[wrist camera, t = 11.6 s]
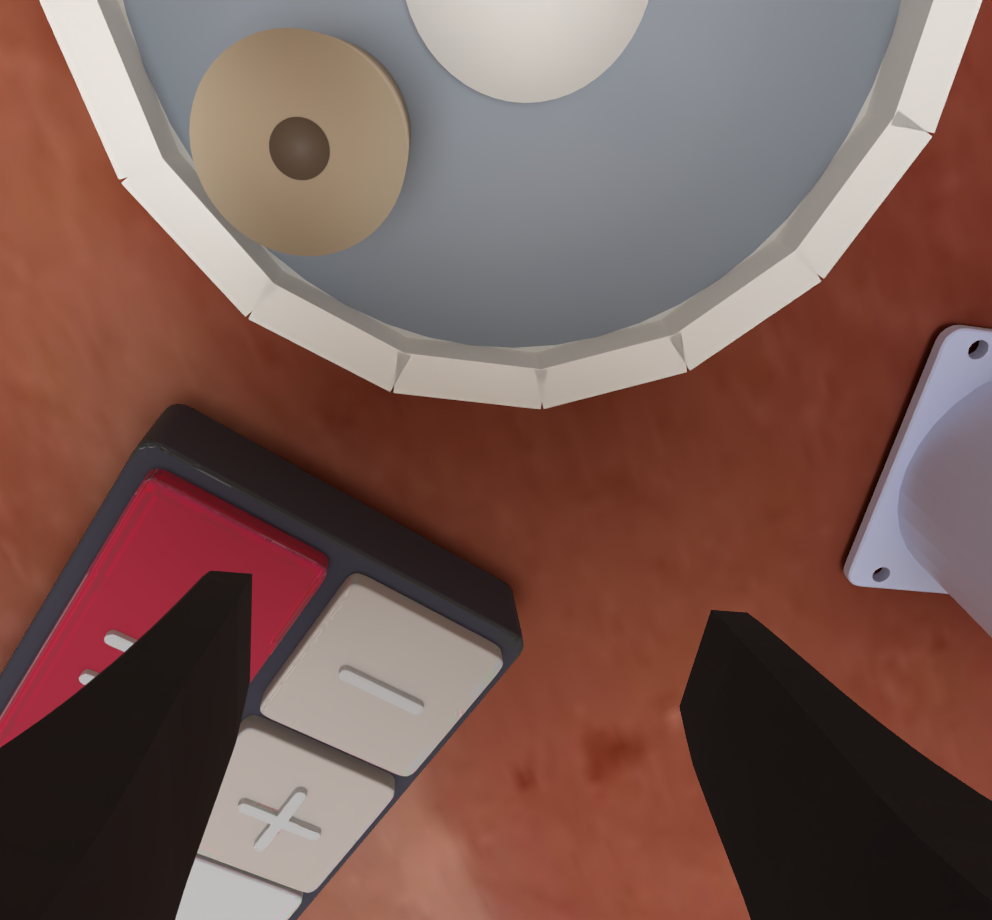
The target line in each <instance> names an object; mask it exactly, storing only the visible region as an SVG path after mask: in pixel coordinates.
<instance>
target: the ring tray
mask: <svg viewBox="0 0 992 920" xmlns="http://www.w3.org/2000/svg"><path fill="white" fill-rule="evenodd" d="M39 1H40V3H41V5H42V8H43V10H44V12H45V14H46V17H47V19H48V21H49V23H50V26H51V28H52V30H53V33H54V35H55V37H56V39H57V42H58V44H59V46H60V48H61V51H62V53H63V55H64V57H65V60H66V62H67V64H68V66H69V69H70V71H71V73H72V75H73V78H74V80H75V82H76V84H77V87H78V89H79V91H80V93H81V96H82V98H83V100H84V102H85V105H86V107H87V109H88V111H89V114H90V116H91V118H92V120H93V123H94V125H95V127H96V130H97V132H98V134H99V136H100V139H101V141H102V143H103V145H104V148H105V150H106V152H107V154H108V157H109V159H110V161H111V163H112V166H113V168H114V170H115V172H116V175H117V177H118V179H122V178H126V177H128V178H126V179H125V180H124V181H123V182H122V183H121V184H122V185H123V186H124V187H125V188H126V189H127V190H128V191H129V192H130V193H131V194H132V195H133V197H134V198H135V199H136V200H137V201H138V202H139V203H140V204H141V205H142V206H143V207H144V208H145V209H146V211H147V212H148V213H149V214H150V215H151V216H152V217H153V218H154V219H155V220H156V221H157V222H158V223H159V224H160V226H161V227H162V228H163V229H164V230H165V231H166V232H167V233H168V234H169V235H170V236H171V237H172V238H173V240H174V241H175V242H176V243H177V244H178V245H179V246H180V247H181V248H182V249H183V250H184V251H185V252H186V254H187V255H188V256H189V257H190V258H191V259H192V260H193V261H194V262H195V263H196V264H197V265H198V266H199V268H200V269H201V270H202V271H203V272H204V273H205V274H206V275H207V276H208V277H209V278H210V279H211V280H212V282H213V283H214V284H215V285H216V286H217V287H218V288H219V289H220V290H221V291H222V292H223V293H224V294H225V296H226V297H227V298H228V299H229V300H230V301H231V302H232V303H233V304H234V305H235V306H236V307H237V308H238V310H239V311H240V312H241V313H242V314H243V315H244V316H245V317H246V316H247V315H248V314H249V313H251V312H252V313H251V315H250V317H249V320H251V321H253V322H255V323H257V324H259V325H261V326H263V327H265V328H266V329H268V330H270V331H272V332H274V333H276V334H278V335H280V336H282V337H284V338H286V339H288V340H290V341H292V342H294V343H296V344H298V345H300V346H302V347H303V348H305V349H307V350H309V351H311V352H313V353H315V354H317V355H319V356H321V357H323V358H325V359H327V360H329V361H331V362H333V363H335V364H337V365H339V366H340V367H342V368H344V369H346V370H348V371H350V372H352V373H354V374H356V375H358V376H360V377H362V378H364V379H366V380H368V381H370V382H372V383H374V384H376V385H377V386H379V387H381V388H383V389H385V390H387V391H389V392H390V391H391V390H392V388H393V386H394V393H398V394H407V395H416V396H425V397H434V398H443V399H452V400H461V401H470V402H479V403H488V404H497V405H506V406H515V407H524V408H533V409H541V404H542V405H543V408H544V409H546V408H550V407H554V406H558V405H562V404H566V403H569V402H573V401H577V400H581V399H585V398H589V397H593V396H597V395H600V394H604V393H608V392H612V391H616V390H620V389H624V388H628V387H631V386H635V385H639V384H643V383H647V382H651V381H655V380H659V379H662V378H666V377H670V376H674V375H678V374H682V373H686V372H687V369H686V367H687V368H688V369H689V370H692V369H693V368H695V367H696V366H698V365H699V364H701V363H702V362H704V361H705V360H707V359H708V358H709V357H711V356H712V355H714V354H715V353H717V352H718V351H720V350H721V349H723V348H724V347H726V346H727V345H729V344H730V343H731V342H733V341H734V340H736V339H737V338H739V337H740V336H742V335H743V334H745V333H746V332H748V331H749V330H751V329H752V328H753V327H755V326H756V325H758V324H759V323H761V322H762V321H764V320H765V319H767V318H768V317H770V316H771V315H773V314H774V313H776V312H777V311H778V310H780V309H781V308H783V307H784V306H786V305H787V304H789V303H790V302H792V301H793V300H795V299H796V298H798V297H799V296H800V295H802V294H803V293H805V292H806V291H808V290H809V289H811V288H812V287H814V286H815V285H817V284H818V283H820V282H821V280H820V278H819V276H820V277H822V278H823V279H824V278H825V277H826V275H827V274H828V273H829V272H830V270H831V269H832V268H833V266H834V265H835V264H836V262H837V261H838V260H839V258H840V257H841V256H842V254H843V253H844V252H845V251H846V249H847V248H848V247H849V245H850V244H851V243H852V241H853V240H854V239H855V237H856V236H857V235H858V233H859V232H860V231H861V230H862V228H863V227H864V226H865V224H866V223H867V222H868V220H869V219H870V218H871V216H872V215H873V214H874V213H875V211H876V210H877V209H878V207H879V206H880V205H881V203H882V202H883V201H884V199H885V198H886V197H887V195H888V194H889V193H890V192H891V190H892V189H893V188H894V186H895V185H896V184H897V182H898V181H899V180H900V178H901V177H902V176H903V174H904V173H905V172H906V171H907V169H908V168H909V167H910V165H911V164H912V163H913V161H914V160H915V159H916V157H917V156H918V155H919V154H920V152H921V151H922V150H923V148H924V147H925V146H926V144H927V143H928V142H929V140H930V139H931V138H932V136H931V135H930V134H928V133H927V132H932V133H935V130H936V127H937V124H938V122H939V119H940V116H941V113H942V111H943V108H944V105H945V102H946V100H947V97H948V94H949V91H950V88H951V86H952V83H953V80H954V77H955V75H956V72H957V69H958V66H959V64H960V61H961V58H962V55H963V53H964V50H965V47H966V44H967V42H968V39H969V36H970V33H971V30H972V28H973V25H974V22H975V19H976V17H977V14H978V11H979V8H980V6H981V3H982V0H39ZM276 28H296V29H305V30H310V31H314V32H318V33H322V34H325V35H329V36H332V37H336V38H339V39H342V40H345V41H348V42H350V43H353V44H355V45H357V46H359V47H360V48H362V49H364V50H366V51H367V52H368V53H370V54H371V55H372V56H374V57H375V58H376V59H377V60H378V61H379V62H380V63H381V64H382V65H383V66H384V67H385V68H386V69H387V70H388V72H389V73H390V74H391V75H392V77H393V78H394V80H395V82H396V83H397V85H398V86H399V88H400V91H401V93H402V95H403V97H404V100H405V103H406V106H407V109H408V113H409V118H410V126H411V145H410V151H409V157H408V162H407V167H406V172H405V177H404V181H403V185H402V188H401V191H400V194H399V196H398V198H397V201H396V203H395V205H394V207H393V208H392V210H391V212H390V213H389V215H388V216H387V218H386V219H385V220H384V221H383V222H382V224H381V225H380V226H379V227H378V228H377V229H376V230H375V231H374V232H373V233H372V234H371V235H369V236H368V237H367V238H365V239H364V240H362V241H361V242H359V243H358V244H356V245H354V246H352V247H350V248H348V249H345V250H342V251H339V252H336V253H332V254H327V255H322V256H296V255H291V254H285V253H281V252H278V251H275V250H272V249H269V248H267V247H265V246H262V245H260V244H258V243H256V242H254V241H253V240H251V239H250V238H248V237H246V236H245V235H243V234H242V233H241V232H240V231H238V230H237V229H236V228H235V227H233V226H232V225H231V224H230V223H229V222H228V221H227V220H226V219H225V218H224V217H223V216H222V215H221V213H220V212H219V211H218V210H217V208H216V207H215V206H214V205H213V203H212V202H211V200H210V198H209V197H208V195H207V193H206V192H205V190H204V188H203V186H202V184H201V182H200V179H199V177H198V174H197V171H196V168H195V165H194V162H193V158H192V153H191V148H190V135H189V128H190V115H191V109H192V104H193V100H194V97H195V94H196V91H197V88H198V86H199V84H200V82H201V80H202V78H203V76H204V74H205V73H206V71H207V70H208V69H209V67H210V66H211V64H212V63H213V62H214V61H215V60H216V59H217V58H218V57H219V55H220V54H221V53H222V52H224V51H225V50H226V49H227V48H229V47H230V46H231V45H233V44H234V43H236V42H238V41H239V40H241V39H243V38H245V37H247V36H249V35H252V34H255V33H258V32H260V31H265V30H270V29H276Z"/></svg>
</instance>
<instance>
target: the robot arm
mask: <svg viewBox="0 0 992 920" xmlns="http://www.w3.org/2000/svg"><path fill="white" fill-rule="evenodd" d="M978 340H979V345H978V347H977V349H976V350H975V351H974V352H972V353H971V354H968V351H969V348H970V346H971V345H972V344H973V343H974V342H976V341H978ZM882 567H883V568H882ZM879 568H882V570H881V571H880V572H878V573H877V574H873V573H874V572H875V570H877V569H879ZM843 571H844V574H845V576H846V577H847V579H848V580H849V581H850V582H851V583H852V584H853V585H856V586H862V587H874V588H885V589H897V590H909V591H920V592H932V593H944V594H949V595H950V596H951V597H952V598H953V599H954V600H955V601H956V602H957V603H958V604H959V605H960V606H961V607H962V608H963V609H964V610H965V611H966V612H967V613H968V614H969V615H970V616H971V617H972V618H973V619H974V620H975V621H976V622H977V623H978V624H979V625H980V626H981V627H982V628H983V629H984V630H985V631H986V632H987V633H988V634H989V635H990V637H991V638H992V329H988V328H981V327H973V326H966V325H953V326H950V327H948V328H946V329H945V330H944V331H942V332H941V333H940V334H939V336H938V337H937V339H936V341H935V343H934V345H933V348H932V350H931V353H930V355H929V358H928V360H927V363H926V365H925V368H924V370H923V372H922V375H921V377H920V380H919V382H918V385H917V387H916V390H915V392H914V395H913V397H912V400H911V402H910V405H909V407H908V410H907V412H906V414H905V417H904V419H903V422H902V424H901V427H900V429H899V432H898V434H897V437H896V439H895V442H894V444H893V447H892V449H891V451H890V454H889V456H888V459H887V461H886V464H885V466H884V469H883V471H882V474H881V476H880V479H879V481H878V484H877V486H876V488H875V491H874V493H873V496H872V498H871V501H870V503H869V506H868V508H867V511H866V513H865V516H864V518H863V521H862V523H861V526H860V528H859V530H858V533H857V535H856V538H855V540H854V543H853V545H852V548H851V550H850V553H849V555H848V558H847V560H846V563H845V565H844V570H843ZM251 616H252V574H249V573H236V572H223V571H211V570H210V571H209V572H208V573H206V574H205V575H204V576H202V577H201V578H200V579H199V580H198V581H197V582H196V584H195V585H194V586H193V587H192V588H191V589H190V590H189V591H188V592H187V593H186V594H185V595H184V596H183V597H182V598H181V599H180V600H179V601H178V602H177V603H176V604H175V605H174V606H173V607H172V608H171V609H170V610H169V611H168V612H167V613H166V614H165V615H164V616H163V617H162V618H161V619H160V620H159V621H158V622H157V623H156V624H155V625H153V626H152V627H151V628H150V629H149V630H148V631H147V632H146V633H145V634H144V635H143V636H141V637H140V638H139V639H138V640H137V641H136V642H135V643H134V644H133V645H132V646H131V647H129V648H128V649H127V650H126V651H125V652H124V653H123V654H122V655H121V656H120V657H118V658H117V659H116V660H115V661H114V662H113V663H111V664H110V665H109V666H108V667H107V668H105V669H104V670H103V671H102V672H101V673H99V674H98V675H97V676H96V677H94V678H93V679H92V680H91V681H90V682H88V683H87V684H86V685H85V686H84V687H82V688H81V689H80V690H79V691H77V692H76V693H75V694H74V695H73V696H71V697H70V698H69V699H67V700H66V701H65V702H63V703H62V704H61V705H59V706H58V707H57V708H56V709H54V710H53V711H52V712H50V713H49V714H47V715H46V716H45V717H43V718H42V719H41V720H39V721H38V722H37V723H35V724H34V725H32V726H31V727H29V728H28V729H26V730H25V731H24V732H22V733H21V734H19V735H18V736H16V737H15V738H14V739H12V740H11V741H9V742H8V743H6V744H5V745H3V746H2V747H0V920H175V919H176V915H177V912H178V909H179V906H180V902H181V899H182V896H183V893H184V889H185V886H186V883H187V880H188V877H189V875H190V872H191V869H192V866H193V863H194V861H195V858H196V855H197V852H198V849H199V846H200V844H201V841H202V838H203V835H204V832H205V830H206V827H207V824H208V821H209V818H210V815H211V813H212V810H213V807H214V804H215V801H216V799H217V796H218V793H219V790H220V787H221V784H222V782H223V779H224V776H225V773H226V770H227V767H228V764H229V762H230V759H231V756H232V753H233V750H234V747H235V744H236V741H237V736H238V732H239V728H240V724H241V719H242V715H243V710H244V706H245V701H246V697H247V692H248V688H249V683H250V661H251ZM680 711H681V716H682V720H683V725H684V729H685V734H686V739H687V743H688V747H689V751H690V755H691V759H692V763H693V766H694V769H695V772H696V775H697V777H698V780H699V783H700V786H701V788H702V791H703V794H704V796H705V799H706V802H707V804H708V807H709V810H710V812H711V815H712V817H713V820H714V823H715V825H716V828H717V830H718V833H719V836H720V838H721V841H722V843H723V846H724V848H725V851H726V854H727V856H728V859H729V861H730V864H731V867H732V869H733V872H734V874H735V877H736V880H737V882H738V885H739V887H740V890H741V893H742V895H743V898H744V901H745V904H746V906H747V909H748V912H749V915H750V918H751V920H992V801H991V800H989V799H988V798H986V797H984V796H983V795H981V794H980V793H978V792H977V791H975V790H974V789H972V788H971V787H969V786H968V785H966V784H965V783H963V782H962V781H960V780H959V779H957V778H956V777H954V776H953V775H951V774H950V773H948V772H947V771H945V770H944V769H942V768H941V767H939V766H938V765H936V764H935V763H934V762H932V761H931V760H929V759H928V758H927V757H925V756H924V755H922V754H921V753H920V752H918V751H917V750H915V749H914V748H913V747H911V746H910V745H909V744H907V743H906V742H905V741H903V740H902V739H901V738H900V737H898V736H897V735H896V734H894V733H893V732H892V731H890V730H889V729H888V728H886V727H885V726H884V725H883V724H881V723H880V722H879V721H877V720H876V719H875V718H874V717H872V716H871V715H870V714H869V713H867V712H866V711H865V710H864V709H862V708H861V707H860V706H859V705H857V704H856V703H855V702H854V701H852V700H851V699H850V698H849V697H848V696H846V695H845V694H844V693H843V692H842V691H840V690H839V689H838V688H837V687H836V686H834V685H833V684H832V683H831V682H830V681H829V680H827V679H826V678H825V677H824V676H823V675H821V674H820V673H819V672H818V671H817V670H816V669H814V668H813V667H812V666H811V665H810V664H809V663H807V662H806V661H805V660H804V659H803V658H802V657H801V656H799V655H798V654H797V653H796V652H795V651H794V650H792V649H791V648H790V647H789V646H788V645H787V644H785V643H784V642H783V641H782V640H781V639H779V638H778V637H777V636H776V635H775V634H774V633H772V632H771V631H770V630H769V629H767V628H766V627H765V626H764V625H763V624H761V623H760V622H759V621H757V620H756V619H755V618H753V617H752V616H751V615H749V614H748V613H743V612H730V611H718V610H711V612H710V616H709V619H708V622H707V625H706V628H705V631H704V634H703V637H702V640H701V643H700V646H699V649H698V652H697V655H696V658H695V661H694V664H693V667H692V670H691V673H690V676H689V679H688V682H687V686H686V689H685V692H684V695H683V698H682V701H681V704H680Z"/></svg>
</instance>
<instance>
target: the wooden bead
mask: <svg viewBox="0 0 992 920" xmlns="http://www.w3.org/2000/svg"><path fill="white" fill-rule="evenodd" d="M189 135H190V148H191V153H192V158H193V162H194V165H195V168H196V171H197V174H198V177H199V179H200V182H201V184H202V186H203V188H204V190H205V192H206V193H207V195H208V197H209V198H210V200H211V202H212V203H213V205H214V206H215V207H216V208H217V210H218V211H219V212H220V213H221V215H222V216H223V217H224V218H225V219H226V220H227V221H228V222H229V223H230V224H231V225H232V226H233V227H235V228H236V229H237V230H238V231H240V232H241V233H242V234H243V235H245V236H246V237H248V238H250V239H251V240H253V241H254V242H256V243H258V244H260V245H262V246H265V247H267V248H269V249H272V250H275V251H278V252H281V253H285V254H291V255H296V256H322V255H327V254H332V253H336V252H339V251H342V250H345V249H348V248H350V247H352V246H354V245H356V244H358V243H359V242H361V241H362V240H364V239H365V238H367V237H368V236H369V235H371V234H372V233H373V232H374V231H375V230H376V229H377V228H378V227H379V226H380V225H381V224H382V222H383V221H384V220H385V219H386V218H387V216H388V215H389V213H390V212H391V210H392V208H393V207H394V205H395V203H396V201H397V198H398V196H399V194H400V191H401V188H402V185H403V181H404V177H405V172H406V167H407V162H408V157H409V151H410V145H411V126H410V118H409V113H408V109H407V106H406V103H405V100H404V97H403V95H402V93H401V91H400V88H399V86H398V85H397V83H396V82H395V80H394V78H393V77H392V75H391V74H390V73H389V72H388V70H387V69H386V68H385V67H384V66H383V65H382V64H381V63H380V62H379V61H378V60H377V59H376V58H375V57H374V56H372V55H371V54H370V53H368V52H367V51H366V50H364V49H362V48H360V47H359V46H357V45H355V44H353V43H350V42H348V41H345V40H342V39H339V38H336V37H332V36H329V35H325V34H322V33H318V32H314V31H310V30H305V29H296V28H276V29H270V30H265V31H260V32H258V33H255V34H252V35H249V36H247V37H245V38H243V39H241V40H239V41H238V42H236V43H234V44H233V45H231V46H230V47H229V48H227V49H226V50H225V51H224V52H222V53H221V54H220V55H219V57H218V58H217V59H216V60H215V61H214V62H213V63H212V64H211V66H210V67H209V69H208V70H207V71H206V73H205V74H204V76H203V78H202V80H201V82H200V84H199V86H198V88H197V91H196V94H195V97H194V100H193V104H192V109H191V115H190V128H189Z"/></svg>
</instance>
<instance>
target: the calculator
mask: <svg viewBox="0 0 992 920" xmlns="http://www.w3.org/2000/svg"><path fill="white" fill-rule="evenodd" d="M210 570H211V571H223V572H236V573H249V574H252V616H251V661H250V683H249V688H248V692H247V697H246V701H245V706H244V710H243V715H242V719H241V724H240V728H239V732H238V736H237V741H236V744H235V747H234V750H233V753H232V756H231V759H230V762H229V764H228V767H227V770H226V773H225V776H224V779H223V782H222V784H221V787H220V790H219V793H218V796H217V799H216V801H215V804H214V807H213V810H212V813H211V815H210V818H209V821H208V824H207V827H206V830H205V832H204V835H203V838H202V841H201V844H200V846H199V849H198V852H197V855H196V858H195V861H194V863H193V866H192V869H191V872H190V875H189V877H188V880H187V883H186V886H185V889H184V893H183V896H182V899H181V902H180V906H179V909H178V912H177V915H176V919H175V920H297V919H298V917H299V916H300V915H301V914H302V913H303V911H304V910H305V909H306V908H307V907H308V905H309V904H310V903H311V902H312V901H313V900H314V898H315V897H316V896H317V895H318V894H319V892H320V891H321V890H322V889H323V888H324V886H325V885H326V884H327V883H328V882H329V881H330V879H331V878H332V877H333V876H334V875H335V873H336V872H337V871H338V870H339V869H340V867H341V866H342V865H343V864H344V863H345V862H346V860H347V859H348V858H349V857H350V856H351V854H352V853H353V852H354V851H355V850H356V849H357V847H358V846H359V845H360V844H361V843H362V841H363V840H364V839H365V838H366V837H367V835H368V834H369V833H370V832H371V831H372V830H373V828H374V827H375V826H376V825H377V824H378V822H379V821H380V820H381V819H382V818H383V816H384V815H385V814H386V813H387V812H388V811H389V809H390V808H391V807H392V806H393V805H394V803H395V802H396V801H397V800H398V799H399V797H400V796H401V795H402V794H403V793H404V792H405V790H406V789H407V788H408V787H409V786H410V784H411V783H412V782H413V781H414V780H415V778H416V777H417V776H418V775H419V774H420V773H421V771H422V770H423V769H424V768H425V767H426V765H427V764H428V763H429V762H430V761H431V759H432V758H433V757H434V756H435V755H436V754H437V752H438V751H439V750H440V749H441V748H442V746H443V745H444V744H445V743H446V742H447V740H448V739H449V738H450V737H451V736H452V735H453V733H454V732H455V731H456V730H457V729H458V727H459V726H460V725H461V724H462V723H463V722H464V720H465V719H466V718H467V717H468V716H469V714H470V713H471V712H472V711H473V710H474V708H475V707H476V706H477V705H478V704H479V703H480V701H481V700H482V699H483V698H484V697H485V695H486V694H487V693H488V692H489V691H490V689H491V688H492V687H493V686H494V685H495V684H496V682H497V681H498V680H499V679H500V678H501V676H502V675H503V674H504V673H505V672H506V670H507V669H508V668H509V667H510V666H511V665H512V663H513V662H514V661H515V660H516V658H517V657H518V656H519V655H520V653H521V652H522V650H523V638H522V633H521V628H520V624H519V619H518V615H517V610H516V606H515V601H514V597H513V593H512V590H511V588H510V587H509V586H508V585H507V584H506V583H504V582H502V581H501V580H499V579H497V578H495V577H494V576H492V575H490V574H488V573H487V572H485V571H483V570H481V569H479V568H478V567H476V566H474V565H472V564H470V563H469V562H467V561H465V560H463V559H461V558H460V557H458V556H456V555H454V554H453V553H451V552H449V551H447V550H445V549H444V548H442V547H440V546H438V545H436V544H435V543H433V542H431V541H429V540H427V539H426V538H424V537H422V536H420V535H419V534H417V533H415V532H413V531H411V530H410V529H408V528H406V527H404V526H402V525H401V524H399V523H397V522H395V521H393V520H392V519H390V518H388V517H386V516H385V515H383V514H381V513H379V512H377V511H376V510H374V509H372V508H370V507H368V506H367V505H365V504H363V503H361V502H359V501H358V500H356V499H354V498H352V497H351V496H349V495H347V494H345V493H343V492H342V491H340V490H338V489H336V488H334V487H333V486H331V485H329V484H327V483H325V482H324V481H322V480H320V479H318V478H317V477H315V476H313V475H311V474H309V473H308V472H306V471H304V470H302V469H300V468H299V467H297V466H295V465H293V464H291V463H290V462H288V461H286V460H284V459H282V458H281V457H279V456H277V455H275V454H274V453H272V452H270V451H268V450H266V449H265V448H263V447H261V446H259V445H257V444H256V443H254V442H252V441H250V440H248V439H247V438H245V437H243V436H241V435H240V434H238V433H236V432H234V431H232V430H231V429H229V428H227V427H225V426H223V425H222V424H220V423H218V422H216V421H214V420H213V419H211V418H209V417H207V416H205V415H204V414H202V413H200V412H198V411H196V410H195V409H193V408H191V407H188V406H186V405H182V404H175V405H172V406H169V407H168V408H167V409H166V410H165V411H164V412H163V413H162V415H161V416H160V417H159V418H158V420H157V421H156V422H155V424H154V425H153V426H152V427H151V429H150V430H149V431H148V433H147V434H146V435H145V437H144V438H143V439H142V440H141V442H140V443H139V444H138V446H137V447H136V448H135V450H134V451H133V453H132V455H131V456H130V458H129V460H128V461H127V463H126V465H125V466H124V468H123V470H122V471H121V473H120V475H119V477H118V478H117V480H116V482H115V483H114V485H113V487H112V488H111V490H110V492H109V493H108V495H107V497H106V498H105V500H104V502H103V504H102V505H101V507H100V509H99V510H98V512H97V514H96V515H95V517H94V519H93V520H92V522H91V524H90V525H89V527H88V529H87V531H86V532H85V534H84V536H83V537H82V539H81V541H80V542H79V544H78V546H77V547H76V549H75V551H74V552H73V554H72V556H71V557H70V559H69V561H68V563H67V564H66V566H65V568H64V569H63V571H62V573H61V574H60V576H59V578H58V579H57V581H56V583H55V584H54V586H53V588H52V590H51V591H50V593H49V595H48V596H47V598H46V600H45V601H44V603H43V605H42V606H41V608H40V610H39V611H38V613H37V615H36V617H35V618H34V620H33V622H32V623H31V625H30V627H29V628H28V630H27V632H26V633H25V635H24V637H23V638H22V640H21V642H20V643H19V645H18V647H17V649H16V650H15V652H14V654H13V655H12V657H11V659H10V660H9V662H8V664H7V665H6V667H5V669H4V670H3V672H2V674H1V676H0V747H2V746H3V745H5V744H6V743H8V742H9V741H11V740H12V739H14V738H15V737H16V736H18V735H19V734H21V733H22V732H24V731H25V730H26V729H28V728H29V727H31V726H32V725H34V724H35V723H37V722H38V721H39V720H41V719H42V718H43V717H45V716H46V715H47V714H49V713H50V712H52V711H53V710H54V709H56V708H57V707H58V706H59V705H61V704H62V703H63V702H65V701H66V700H67V699H69V698H70V697H71V696H73V695H74V694H75V693H76V692H77V691H79V690H80V689H81V688H82V687H84V686H85V685H86V684H87V683H88V682H90V681H91V680H92V679H93V678H94V677H96V676H97V675H98V674H99V673H101V672H102V671H103V670H104V669H105V668H107V667H108V666H109V665H110V664H111V663H113V662H114V661H115V660H116V659H117V658H118V657H120V656H121V655H122V654H123V653H124V652H125V651H126V650H127V649H128V648H129V647H131V646H132V645H133V644H134V643H135V642H136V641H137V640H138V639H139V638H140V637H141V636H143V635H144V634H145V633H146V632H147V631H148V630H149V629H150V628H151V627H152V626H153V625H155V624H156V623H157V622H158V621H159V620H160V619H161V618H162V617H163V616H164V615H165V614H166V613H167V612H168V611H169V610H170V609H171V608H172V607H173V606H174V605H175V604H176V603H177V602H178V601H179V600H180V599H181V598H182V597H183V596H184V595H185V594H186V593H187V592H188V591H189V590H190V589H191V588H192V587H193V586H194V585H195V584H196V582H197V581H198V580H199V579H200V578H201V577H202V576H204V575H205V574H206V573H208V572H209V571H210Z"/></svg>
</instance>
